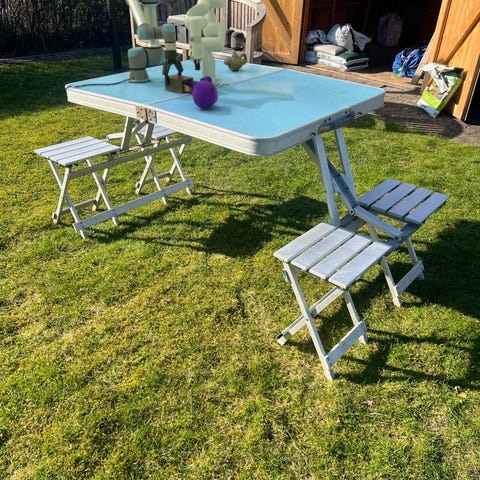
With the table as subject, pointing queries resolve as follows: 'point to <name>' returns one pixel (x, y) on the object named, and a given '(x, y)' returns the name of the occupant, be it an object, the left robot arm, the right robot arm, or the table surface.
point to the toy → (203, 92)
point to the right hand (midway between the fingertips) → (197, 70)
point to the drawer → (187, 88)
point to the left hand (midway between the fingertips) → (174, 83)
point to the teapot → (235, 61)
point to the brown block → (177, 83)
